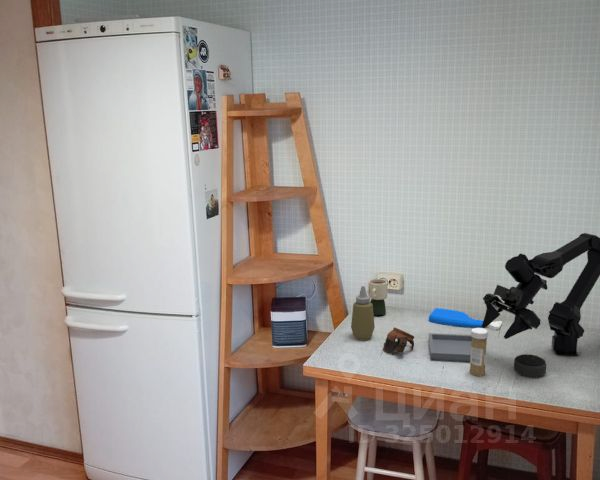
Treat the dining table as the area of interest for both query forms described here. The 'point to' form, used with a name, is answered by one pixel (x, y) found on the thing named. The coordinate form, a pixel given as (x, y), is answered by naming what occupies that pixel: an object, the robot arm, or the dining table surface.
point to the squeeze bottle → (362, 316)
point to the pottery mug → (401, 341)
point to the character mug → (378, 295)
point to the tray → (450, 347)
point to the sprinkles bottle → (478, 351)
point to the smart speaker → (530, 365)
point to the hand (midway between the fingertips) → (493, 332)
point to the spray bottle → (458, 319)
